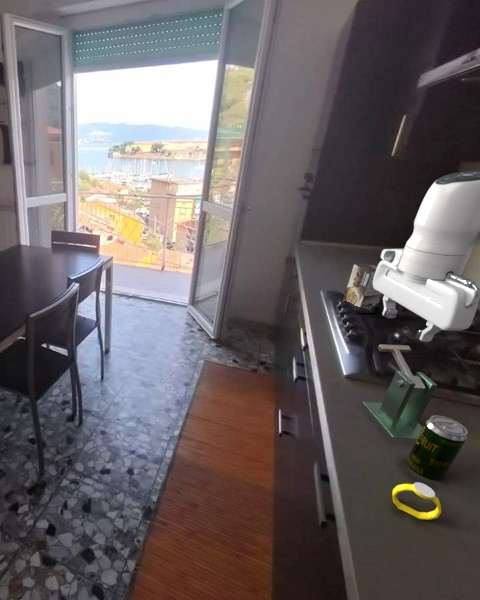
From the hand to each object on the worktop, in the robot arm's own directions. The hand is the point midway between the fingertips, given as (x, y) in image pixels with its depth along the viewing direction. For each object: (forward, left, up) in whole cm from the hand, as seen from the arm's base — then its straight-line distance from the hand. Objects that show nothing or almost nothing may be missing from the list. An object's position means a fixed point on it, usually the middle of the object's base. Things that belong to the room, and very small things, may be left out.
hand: (404, 327), depth 72 cm
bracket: (-5, +2, -24) cm, 24 cm away
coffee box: (-29, -58, -24) cm, 69 cm away
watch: (+6, +24, -24) cm, 34 cm away
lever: (-5, -2, -12) cm, 13 cm away
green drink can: (-2, +15, -24) cm, 28 cm away
